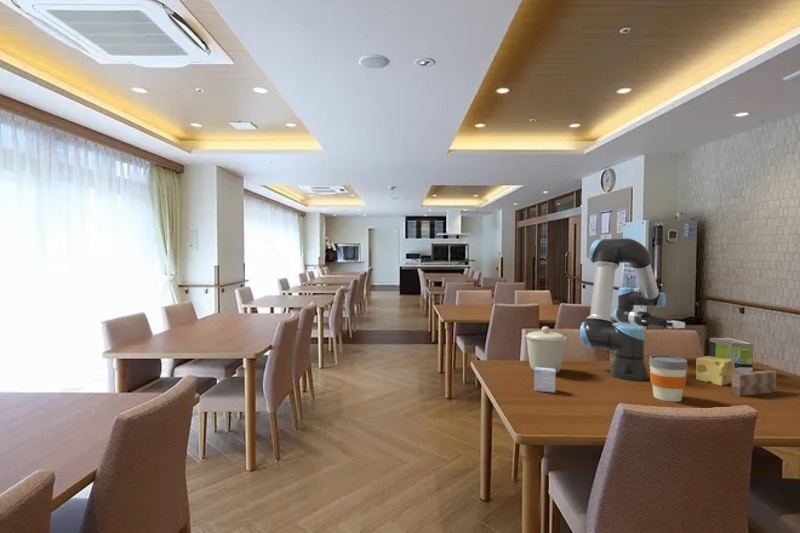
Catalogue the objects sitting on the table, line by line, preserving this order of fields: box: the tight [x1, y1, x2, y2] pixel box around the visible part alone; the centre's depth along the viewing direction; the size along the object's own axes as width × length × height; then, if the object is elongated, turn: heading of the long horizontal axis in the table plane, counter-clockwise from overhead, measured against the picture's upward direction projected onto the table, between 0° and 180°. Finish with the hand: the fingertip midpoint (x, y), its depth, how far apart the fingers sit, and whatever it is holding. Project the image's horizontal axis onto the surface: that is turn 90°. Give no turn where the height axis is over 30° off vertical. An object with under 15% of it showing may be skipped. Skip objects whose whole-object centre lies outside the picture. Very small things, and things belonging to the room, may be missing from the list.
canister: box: [525, 326, 567, 374], centre depth 196 cm, size 18×18×21 cm
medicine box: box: [534, 367, 557, 393], centre depth 167 cm, size 8×4×9 cm, turn 71°
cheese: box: [695, 355, 735, 387], centre depth 182 cm, size 10×11×10 cm
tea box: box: [708, 337, 754, 373], centre depth 199 cm, size 15×10×15 cm, turn 179°
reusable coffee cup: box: [648, 354, 689, 403], centre depth 159 cm, size 12×13×15 cm
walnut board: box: [731, 369, 777, 397], centre depth 166 cm, size 20×3×8 cm, turn 106°
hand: (681, 325), depth 196 cm, fingers open, 2 cm apart
